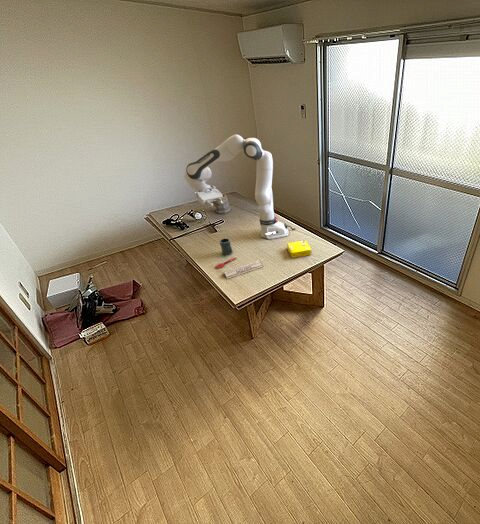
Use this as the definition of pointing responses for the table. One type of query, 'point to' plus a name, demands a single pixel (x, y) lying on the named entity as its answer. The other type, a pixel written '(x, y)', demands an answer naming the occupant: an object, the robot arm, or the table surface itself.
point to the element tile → (299, 249)
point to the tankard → (224, 206)
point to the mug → (225, 246)
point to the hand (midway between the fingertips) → (217, 205)
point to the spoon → (223, 263)
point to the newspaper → (242, 269)
